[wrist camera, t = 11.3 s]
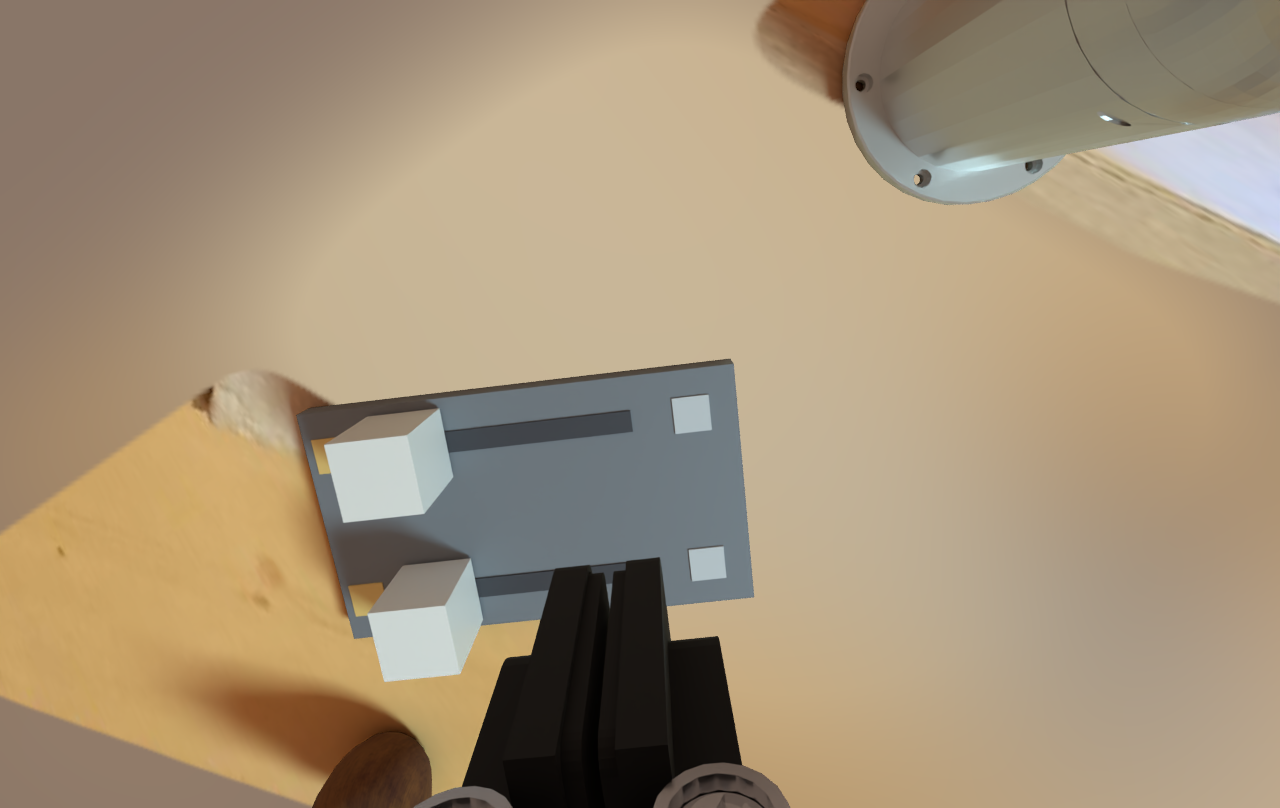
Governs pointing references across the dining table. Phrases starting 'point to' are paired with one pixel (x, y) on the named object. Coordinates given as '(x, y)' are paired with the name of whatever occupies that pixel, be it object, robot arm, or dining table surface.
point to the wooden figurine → (379, 775)
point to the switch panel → (560, 489)
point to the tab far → (426, 620)
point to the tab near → (390, 465)
